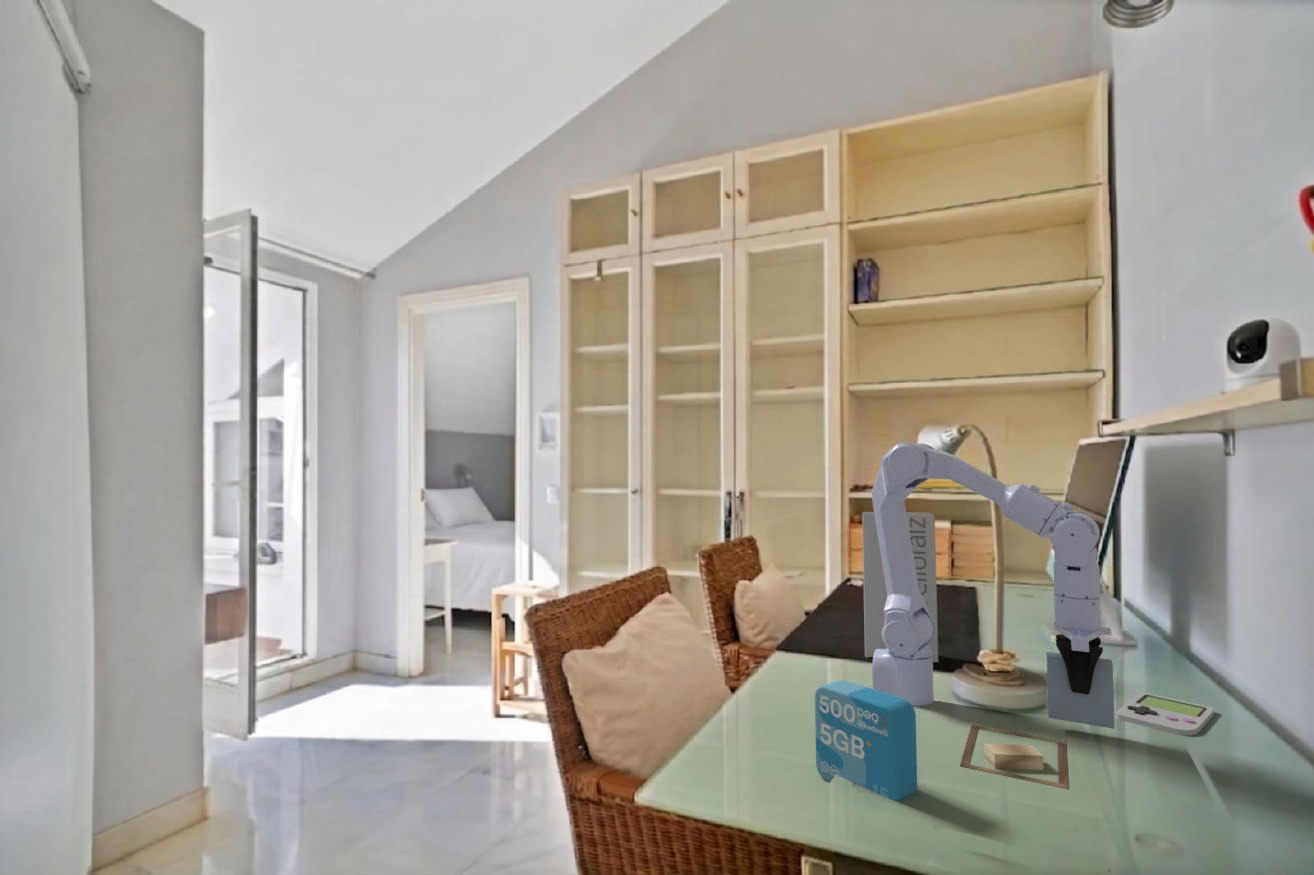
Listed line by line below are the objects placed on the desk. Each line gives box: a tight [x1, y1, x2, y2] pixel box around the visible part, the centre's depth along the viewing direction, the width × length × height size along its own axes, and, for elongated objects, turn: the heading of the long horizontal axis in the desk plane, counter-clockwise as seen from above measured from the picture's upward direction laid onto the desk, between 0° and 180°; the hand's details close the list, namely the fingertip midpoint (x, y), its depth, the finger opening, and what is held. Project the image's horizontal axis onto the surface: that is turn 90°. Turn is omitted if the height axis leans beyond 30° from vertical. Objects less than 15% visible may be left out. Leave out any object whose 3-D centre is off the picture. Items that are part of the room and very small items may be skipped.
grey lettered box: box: [861, 511, 939, 663], centre depth 139 cm, size 14×6×30 cm, turn 73°
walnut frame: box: [959, 724, 1069, 790], centre depth 89 cm, size 12×16×2 cm
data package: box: [814, 679, 918, 802], centre depth 83 cm, size 12×4×12 cm, turn 37°
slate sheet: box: [1046, 651, 1116, 730], centre depth 96 cm, size 8×2×9 cm, turn 59°
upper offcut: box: [984, 743, 1045, 771], centre depth 86 cm, size 6×3×2 cm, turn 85°
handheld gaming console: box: [1115, 692, 1215, 736], centre depth 106 cm, size 10×2×15 cm
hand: (1079, 689), depth 96 cm, fingers closed on slate sheet, 2 cm apart
